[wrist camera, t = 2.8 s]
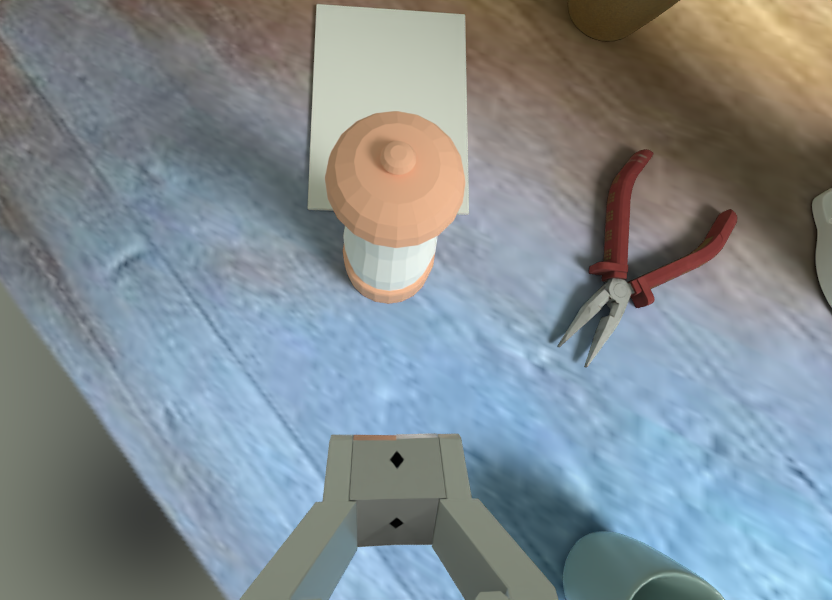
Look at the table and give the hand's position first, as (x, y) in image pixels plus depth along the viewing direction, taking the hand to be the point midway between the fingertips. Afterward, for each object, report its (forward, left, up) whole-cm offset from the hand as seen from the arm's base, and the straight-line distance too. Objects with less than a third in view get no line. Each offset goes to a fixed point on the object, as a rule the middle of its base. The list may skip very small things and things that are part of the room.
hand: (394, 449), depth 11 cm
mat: (-17, -20, -27) cm, 37 cm away
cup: (-5, +21, -27) cm, 35 cm away
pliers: (-25, +4, -27) cm, 37 cm away
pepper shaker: (-8, -9, -27) cm, 29 cm away
